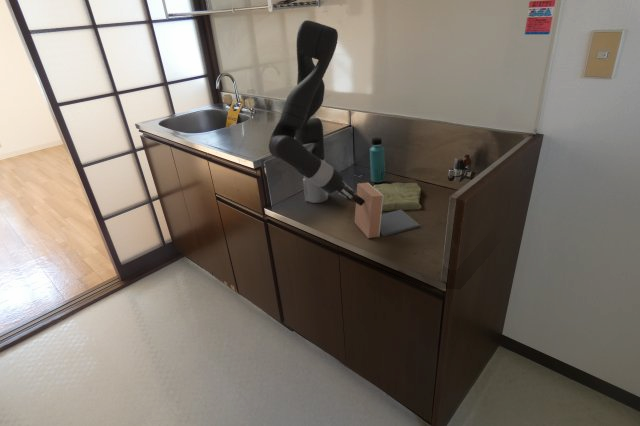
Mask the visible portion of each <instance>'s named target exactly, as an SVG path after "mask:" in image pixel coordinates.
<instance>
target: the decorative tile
mask: <svg viewBox="0 0 640 426" xmlns="http://www.w3.org/2000/svg"><path fill="white" fill-rule="evenodd" d="M373 187H374V188H375V189H376V190H377V191H379V192H380V193H381V194H382V195H384V196H383V206H382V212H386V211H387V212H393V211H397V210H402V211H408V210H411V211H412V210H421V209H422V205H421V204H420V199H421V193H422V188H421V187H420V185H418V183H417V182H404V183H403V182H393V183H381V184H374V185H373Z"/></svg>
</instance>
